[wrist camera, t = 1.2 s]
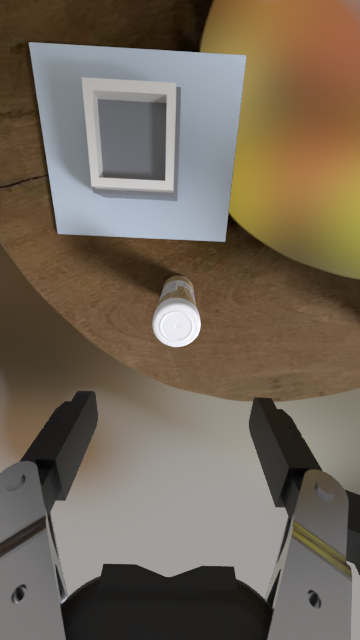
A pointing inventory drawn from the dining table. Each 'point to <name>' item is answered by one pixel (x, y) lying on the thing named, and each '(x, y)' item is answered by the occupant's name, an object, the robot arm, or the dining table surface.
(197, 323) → the sprinkles bottle
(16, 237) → the dining table surface
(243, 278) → the dining table surface
